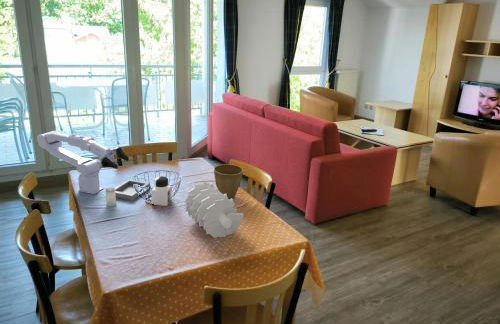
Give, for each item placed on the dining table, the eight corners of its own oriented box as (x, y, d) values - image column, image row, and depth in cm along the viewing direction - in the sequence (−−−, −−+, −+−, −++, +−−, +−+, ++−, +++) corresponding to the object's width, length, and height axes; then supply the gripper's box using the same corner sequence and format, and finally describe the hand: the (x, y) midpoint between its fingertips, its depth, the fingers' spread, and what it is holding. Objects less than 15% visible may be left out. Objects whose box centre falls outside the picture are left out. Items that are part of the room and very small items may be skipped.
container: (171, 199, 190) (171, 175, 186) (167, 206, 183) (166, 181, 179) (156, 198, 191) (156, 174, 186) (151, 204, 184) (150, 180, 179)
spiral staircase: (216, 251, 157) (190, 222, 176) (250, 226, 163) (221, 200, 181) (201, 221, 146) (175, 194, 165) (237, 196, 152) (208, 172, 171)
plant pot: (229, 206, 186) (230, 177, 181) (207, 197, 194) (207, 168, 189) (247, 197, 198) (249, 169, 192) (225, 189, 206) (227, 161, 200)
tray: (109, 196, 189) (109, 191, 188) (128, 184, 204) (128, 179, 203) (132, 201, 186) (132, 195, 185) (150, 188, 201) (149, 182, 200)
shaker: (104, 205, 180) (103, 190, 178) (110, 201, 184) (108, 186, 182) (112, 206, 179) (111, 191, 177) (118, 203, 183) (117, 188, 181)
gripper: (89, 151, 177) (112, 164, 174) (111, 138, 188) (133, 149, 185) (89, 163, 181) (112, 175, 178) (111, 148, 192) (132, 160, 189)
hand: (122, 163), depth 182 cm, fingers open, 7 cm apart
